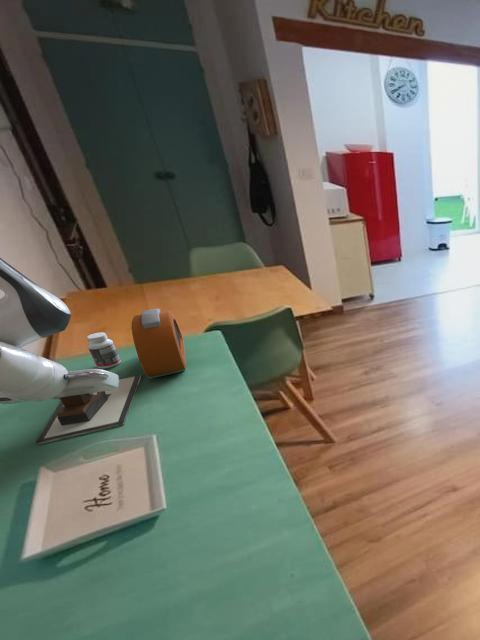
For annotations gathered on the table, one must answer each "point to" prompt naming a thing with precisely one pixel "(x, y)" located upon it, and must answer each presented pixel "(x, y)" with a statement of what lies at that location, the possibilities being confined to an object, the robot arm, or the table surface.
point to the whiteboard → (105, 418)
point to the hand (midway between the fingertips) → (79, 394)
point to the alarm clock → (158, 343)
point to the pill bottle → (103, 351)
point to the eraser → (80, 407)
